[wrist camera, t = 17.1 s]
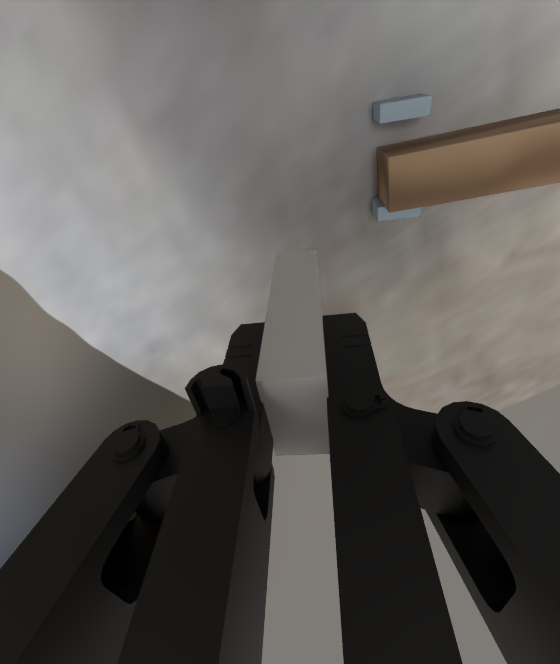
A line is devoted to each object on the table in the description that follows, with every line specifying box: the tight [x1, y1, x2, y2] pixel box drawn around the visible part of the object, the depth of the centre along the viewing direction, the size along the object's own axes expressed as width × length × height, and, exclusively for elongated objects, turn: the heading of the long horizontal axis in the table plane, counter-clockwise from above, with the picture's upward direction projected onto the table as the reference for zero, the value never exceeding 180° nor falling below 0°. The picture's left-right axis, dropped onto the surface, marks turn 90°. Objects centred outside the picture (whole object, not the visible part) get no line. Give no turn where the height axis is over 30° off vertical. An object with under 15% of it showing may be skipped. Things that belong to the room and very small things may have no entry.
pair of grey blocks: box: [372, 94, 432, 222], centre depth 27 cm, size 8×4×3 cm, turn 9°
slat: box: [377, 109, 560, 213], centre depth 25 cm, size 4×22×5 cm, turn 102°
